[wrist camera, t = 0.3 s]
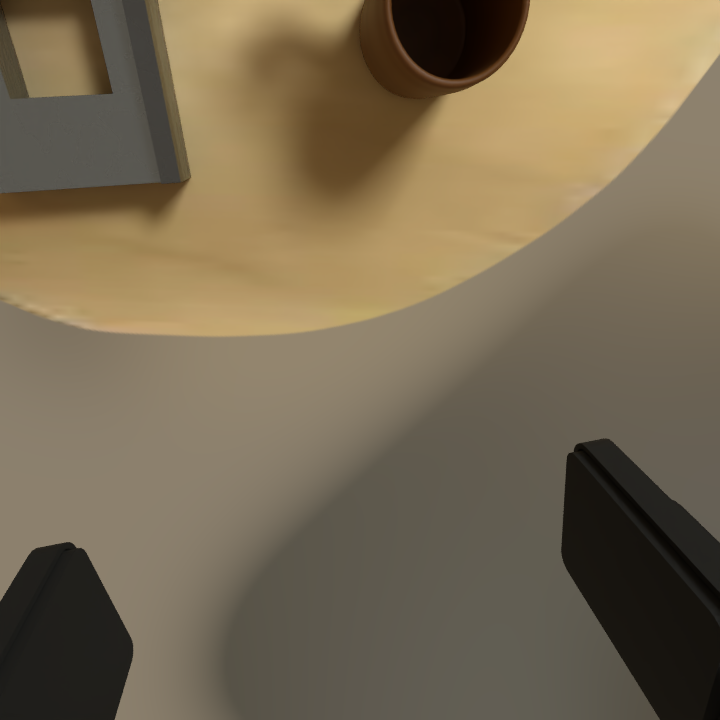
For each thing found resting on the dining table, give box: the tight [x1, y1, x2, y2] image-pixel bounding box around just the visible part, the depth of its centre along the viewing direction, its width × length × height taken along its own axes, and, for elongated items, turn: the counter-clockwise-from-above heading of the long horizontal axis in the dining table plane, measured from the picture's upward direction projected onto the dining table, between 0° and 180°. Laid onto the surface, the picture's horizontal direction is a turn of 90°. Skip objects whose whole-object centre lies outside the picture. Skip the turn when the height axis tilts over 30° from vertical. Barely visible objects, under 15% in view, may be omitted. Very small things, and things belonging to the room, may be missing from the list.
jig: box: [0, 0, 191, 193], centre depth 29 cm, size 16×12×4 cm
